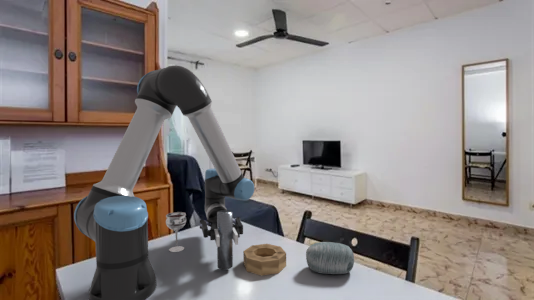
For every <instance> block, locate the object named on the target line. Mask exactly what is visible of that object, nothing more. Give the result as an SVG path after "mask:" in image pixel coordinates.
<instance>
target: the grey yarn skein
mask: <svg viewBox="0 0 534 300" xmlns="http://www.w3.org/2000/svg"><path fill="white" fill-rule="evenodd" d="M305 257H306V258H305V260H306V263H307V267H308V268H309V270H311V271H313V272H315V273H318V274H319V273H320V274H325V275H326V274H327V275H328V274H329V275H345V274H348V273H350V272H351V271H352V270H353V267H354V265H355V255H354V251H353V250H352V248H350V246H349V245H346V244H343V243H340V242H331V241H321V242H315V243H313V244H310V245H309V247H308V248H307V249H306V252H305Z"/></svg>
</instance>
